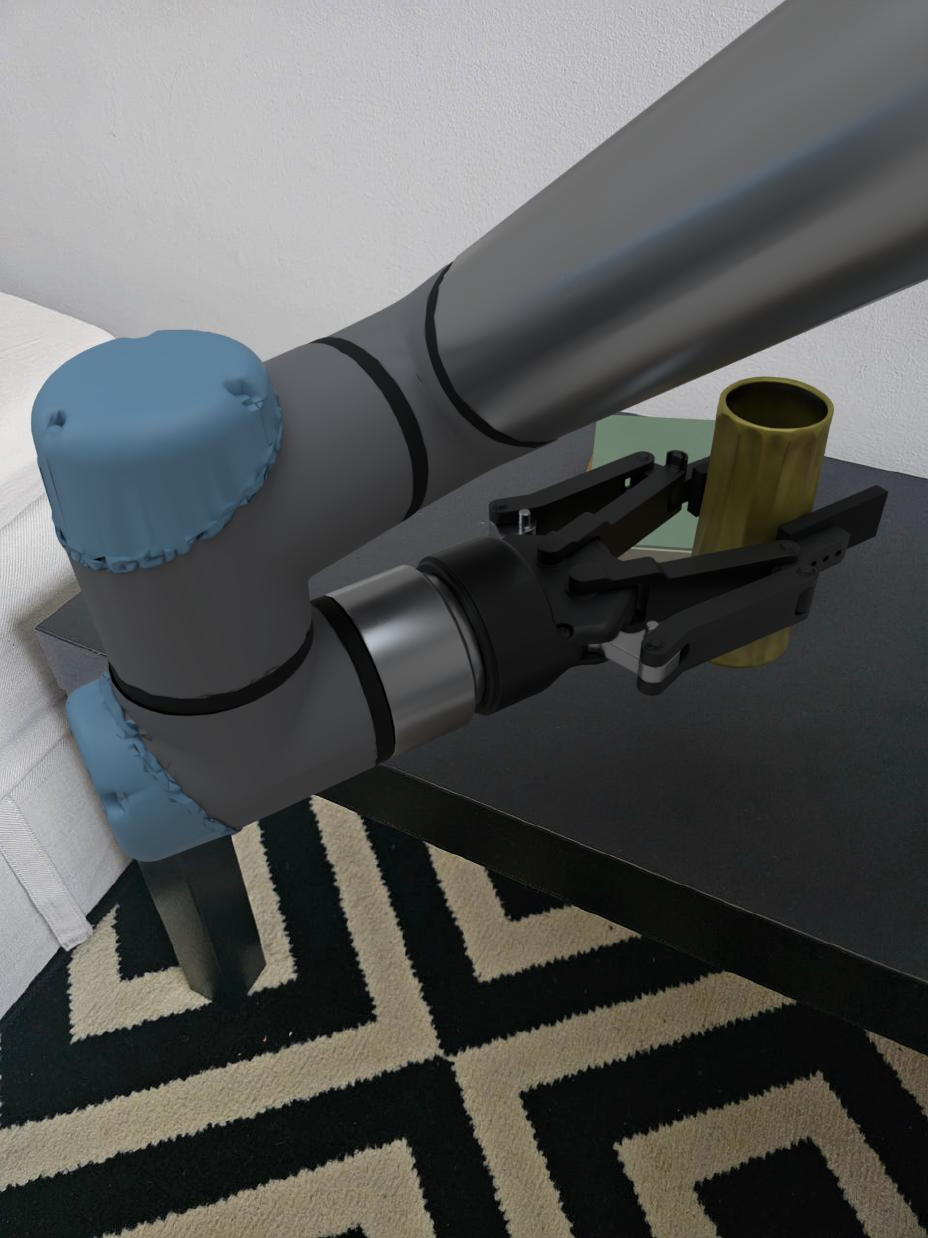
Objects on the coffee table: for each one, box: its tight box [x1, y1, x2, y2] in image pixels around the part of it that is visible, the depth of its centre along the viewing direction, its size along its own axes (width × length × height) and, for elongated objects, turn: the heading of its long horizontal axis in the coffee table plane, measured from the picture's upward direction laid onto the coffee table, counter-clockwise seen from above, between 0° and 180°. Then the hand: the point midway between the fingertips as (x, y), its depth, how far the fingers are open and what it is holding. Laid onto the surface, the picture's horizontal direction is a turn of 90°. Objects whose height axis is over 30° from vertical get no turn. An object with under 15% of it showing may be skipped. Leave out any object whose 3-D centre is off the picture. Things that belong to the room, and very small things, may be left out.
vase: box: [691, 375, 835, 669], centre depth 51 cm, size 6×6×14 cm
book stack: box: [585, 414, 716, 562], centre depth 79 cm, size 20×15×6 cm
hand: (829, 482), depth 52 cm, fingers closed on vase, 5 cm apart
